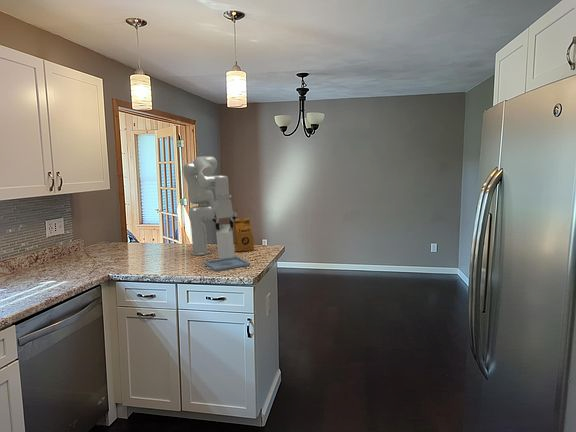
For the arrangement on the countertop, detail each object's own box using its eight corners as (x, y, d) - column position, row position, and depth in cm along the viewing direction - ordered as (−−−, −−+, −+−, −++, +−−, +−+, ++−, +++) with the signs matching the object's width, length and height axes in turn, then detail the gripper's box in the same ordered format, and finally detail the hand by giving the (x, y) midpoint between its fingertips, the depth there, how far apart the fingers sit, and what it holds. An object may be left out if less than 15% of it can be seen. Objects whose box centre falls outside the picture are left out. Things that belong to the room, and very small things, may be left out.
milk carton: (230, 258, 219) (227, 225, 216) (218, 258, 220) (215, 225, 218) (234, 255, 226) (231, 223, 223) (222, 255, 227) (220, 223, 225)
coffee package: (255, 251, 259) (253, 218, 257) (236, 253, 256) (234, 219, 253) (252, 248, 269) (250, 216, 266) (234, 250, 265) (232, 218, 263)
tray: (205, 264, 228) (204, 261, 228) (237, 259, 237) (237, 256, 237) (215, 271, 210) (215, 268, 210) (249, 265, 219) (249, 262, 219)
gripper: (235, 196, 226) (236, 226, 228) (205, 198, 218) (207, 230, 220) (239, 197, 220) (241, 228, 222) (209, 199, 212) (211, 231, 214)
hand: (224, 228), depth 221 cm, fingers closed on milk carton, 7 cm apart
